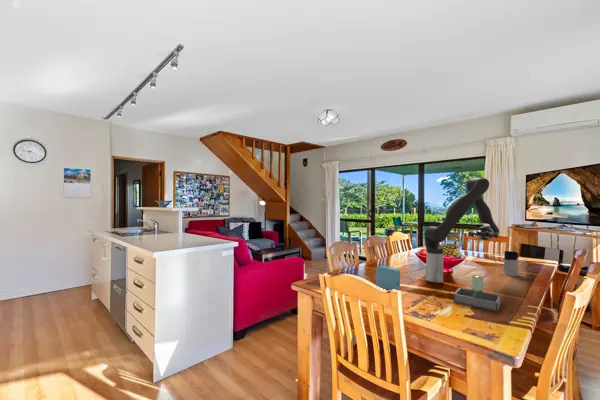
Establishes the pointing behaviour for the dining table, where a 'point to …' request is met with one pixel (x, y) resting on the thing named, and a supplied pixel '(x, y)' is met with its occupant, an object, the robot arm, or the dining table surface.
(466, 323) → the dining table surface
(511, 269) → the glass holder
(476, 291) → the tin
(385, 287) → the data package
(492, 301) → the tote
